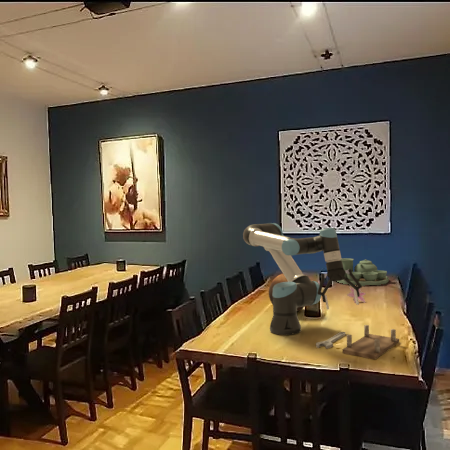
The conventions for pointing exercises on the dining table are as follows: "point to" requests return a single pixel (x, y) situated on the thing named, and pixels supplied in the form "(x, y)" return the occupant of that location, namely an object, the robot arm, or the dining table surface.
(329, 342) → the adjustable wrench
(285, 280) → the pottery
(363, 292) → the lily
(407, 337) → the dining table surface
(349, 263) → the tea set
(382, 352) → the rack
